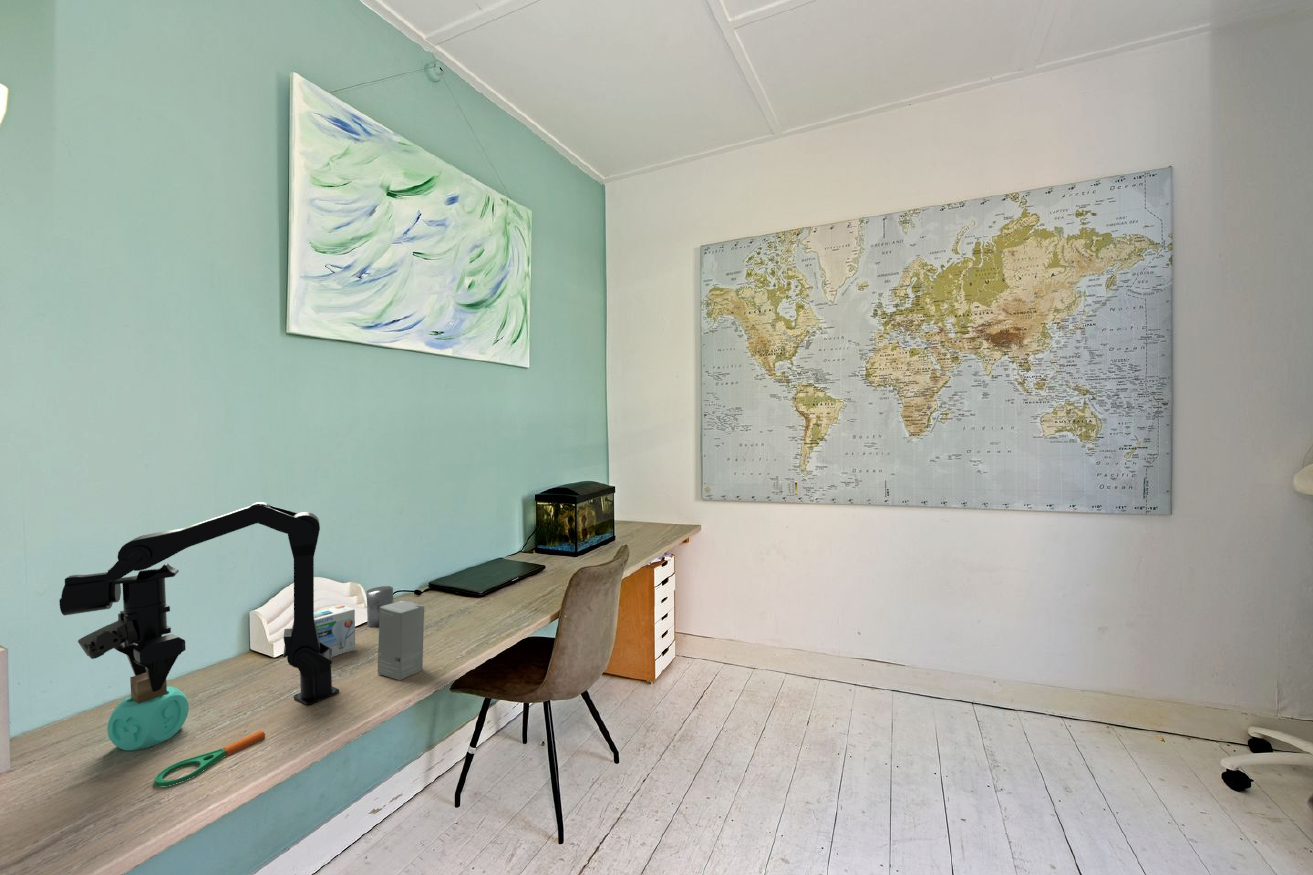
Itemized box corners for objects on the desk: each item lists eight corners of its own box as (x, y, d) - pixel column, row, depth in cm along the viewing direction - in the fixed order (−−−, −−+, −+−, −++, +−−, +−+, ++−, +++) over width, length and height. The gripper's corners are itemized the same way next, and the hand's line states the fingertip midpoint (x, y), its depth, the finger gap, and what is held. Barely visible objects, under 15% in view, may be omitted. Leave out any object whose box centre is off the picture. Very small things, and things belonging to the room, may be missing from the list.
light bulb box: (311, 664, 129) (309, 621, 129) (300, 657, 133) (299, 615, 133) (357, 649, 138) (355, 608, 138) (346, 643, 142) (344, 603, 142)
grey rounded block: (398, 621, 158) (397, 588, 158) (376, 628, 152) (374, 594, 152) (385, 617, 161) (384, 584, 161) (362, 624, 155) (361, 591, 155)
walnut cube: (166, 694, 99) (166, 673, 99) (138, 703, 96) (137, 682, 96) (159, 689, 102) (158, 668, 101) (131, 698, 98) (130, 677, 98)
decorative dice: (151, 726, 103) (149, 685, 103) (190, 726, 103) (188, 685, 103) (107, 751, 95) (105, 707, 95) (149, 751, 95) (147, 707, 95)
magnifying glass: (162, 794, 84) (162, 784, 84) (148, 782, 87) (148, 772, 87) (270, 743, 97) (270, 734, 97) (255, 734, 100) (255, 726, 100)
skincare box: (376, 674, 123) (374, 607, 123) (404, 662, 129) (401, 598, 129) (400, 681, 119) (398, 612, 119) (427, 668, 125) (425, 603, 125)
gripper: (68, 608, 97) (72, 692, 97) (98, 626, 87) (102, 719, 87) (150, 591, 106) (153, 667, 106) (184, 606, 96) (188, 690, 97)
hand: (148, 685), depth 99 cm, fingers open, 8 cm apart
